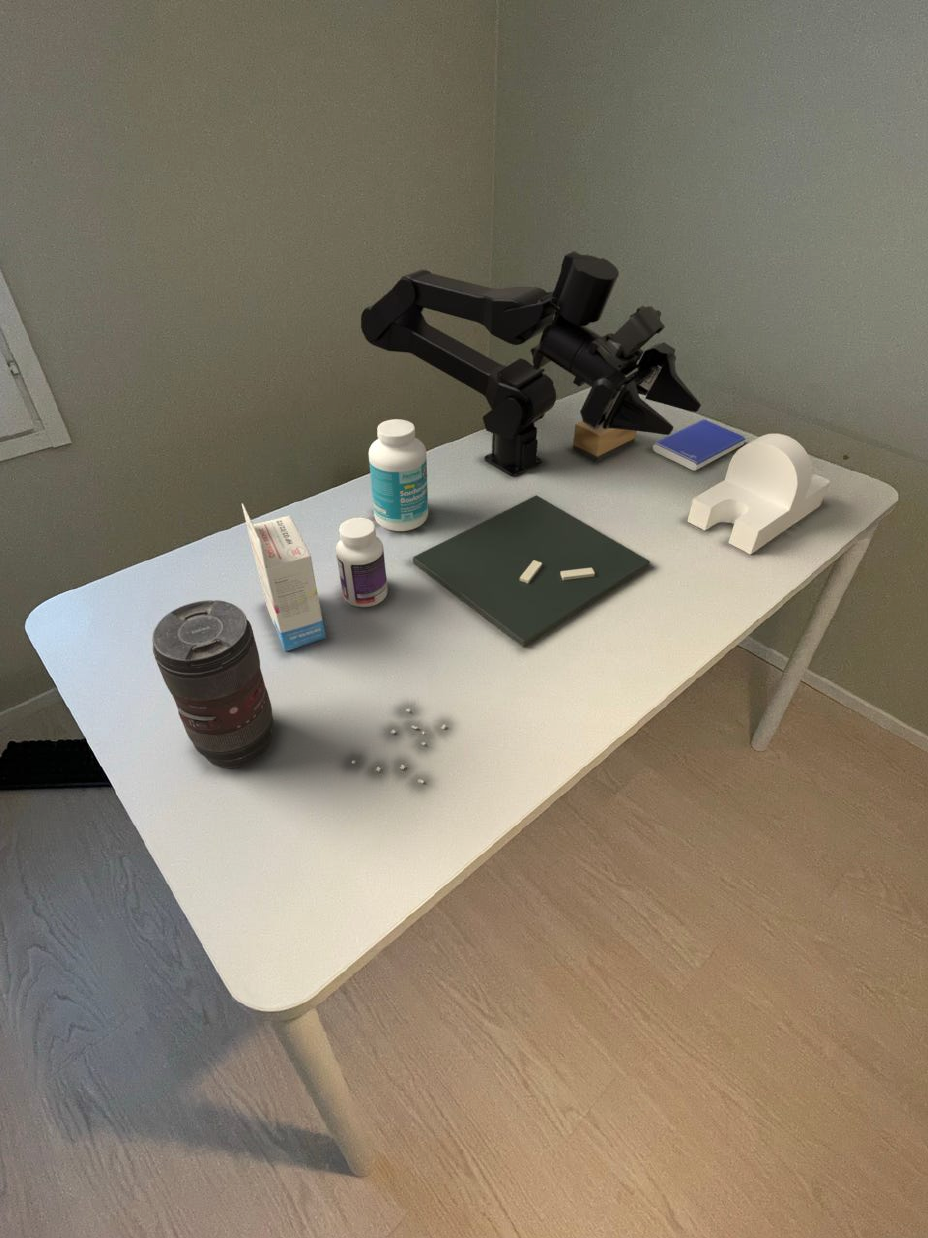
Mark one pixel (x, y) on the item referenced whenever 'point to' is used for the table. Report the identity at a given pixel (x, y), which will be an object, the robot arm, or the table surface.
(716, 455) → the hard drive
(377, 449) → the pill bottle
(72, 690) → the table surface
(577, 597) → the chalkboard
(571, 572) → the chalk stroke
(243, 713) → the camera lens
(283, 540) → the ink box
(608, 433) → the eraser
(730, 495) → the block with arch cutout
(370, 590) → the pill bottle
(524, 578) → the chalk stroke
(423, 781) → the crumbs
